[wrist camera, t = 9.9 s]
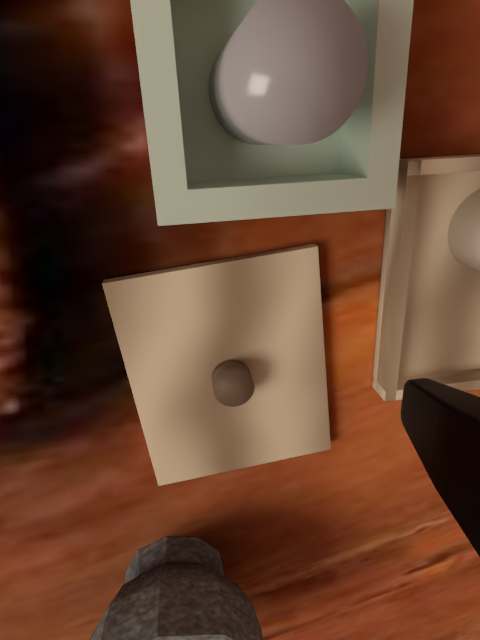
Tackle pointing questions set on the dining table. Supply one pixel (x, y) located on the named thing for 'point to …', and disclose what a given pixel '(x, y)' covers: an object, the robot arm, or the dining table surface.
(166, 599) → the mortar and pestle
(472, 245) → the pale pebble
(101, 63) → the dining table surface
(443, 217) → the birch tray
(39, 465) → the dining table surface
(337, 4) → the grey rounded piece
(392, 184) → the sage bin
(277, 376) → the tray lid
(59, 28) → the dining table surface
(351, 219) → the dining table surface
